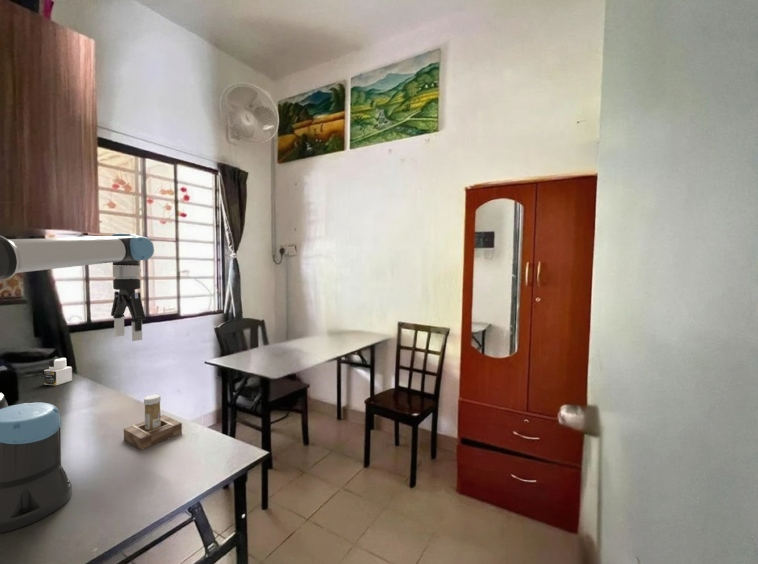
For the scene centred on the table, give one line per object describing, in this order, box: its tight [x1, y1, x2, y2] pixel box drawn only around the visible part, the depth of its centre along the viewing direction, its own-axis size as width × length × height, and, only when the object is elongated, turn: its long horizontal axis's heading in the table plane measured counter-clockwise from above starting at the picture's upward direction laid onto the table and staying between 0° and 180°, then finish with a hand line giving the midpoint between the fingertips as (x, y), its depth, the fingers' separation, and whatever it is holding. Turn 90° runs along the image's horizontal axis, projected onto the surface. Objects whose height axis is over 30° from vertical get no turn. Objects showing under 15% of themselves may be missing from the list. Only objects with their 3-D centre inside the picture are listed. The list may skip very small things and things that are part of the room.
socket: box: [123, 414, 183, 451], centre depth 108 cm, size 12×12×4 cm
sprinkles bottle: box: [143, 394, 162, 432], centre depth 108 cm, size 5×5×13 cm
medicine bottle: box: [43, 357, 73, 386], centre depth 159 cm, size 7×7×12 cm
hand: (128, 338), depth 114 cm, fingers open, 13 cm apart
